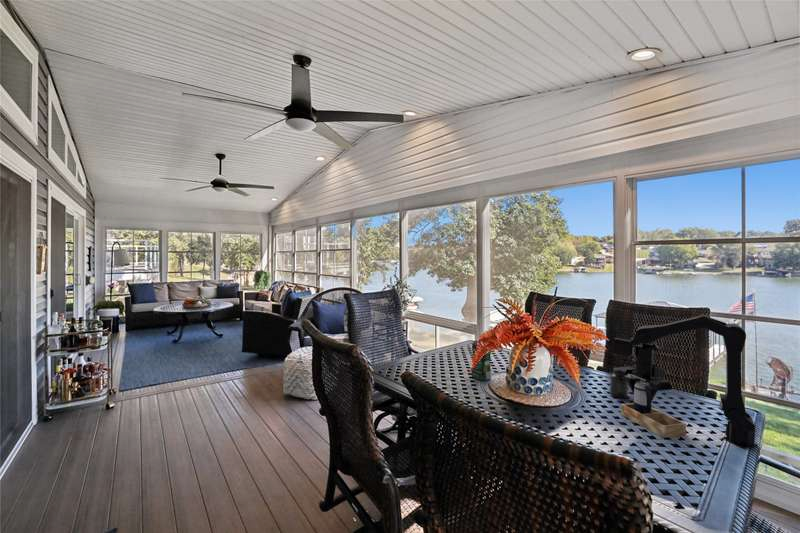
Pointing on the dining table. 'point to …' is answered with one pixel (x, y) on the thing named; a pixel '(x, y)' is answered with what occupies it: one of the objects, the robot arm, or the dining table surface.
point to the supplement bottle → (618, 385)
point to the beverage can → (641, 398)
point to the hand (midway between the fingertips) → (642, 399)
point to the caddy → (655, 421)
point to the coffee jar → (481, 366)
